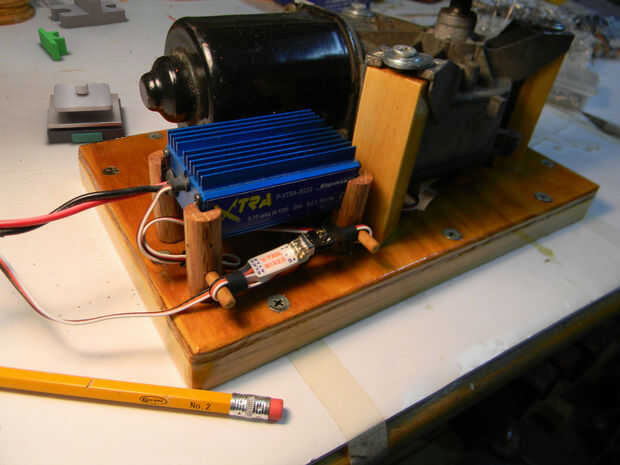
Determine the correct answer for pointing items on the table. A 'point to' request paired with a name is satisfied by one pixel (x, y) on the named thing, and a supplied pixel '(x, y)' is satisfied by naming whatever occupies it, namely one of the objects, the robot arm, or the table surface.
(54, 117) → the scale pan
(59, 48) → the pipe clamp
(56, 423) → the table surface
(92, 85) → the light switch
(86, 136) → the kitchen scale
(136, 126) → the table surface
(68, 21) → the bracket
